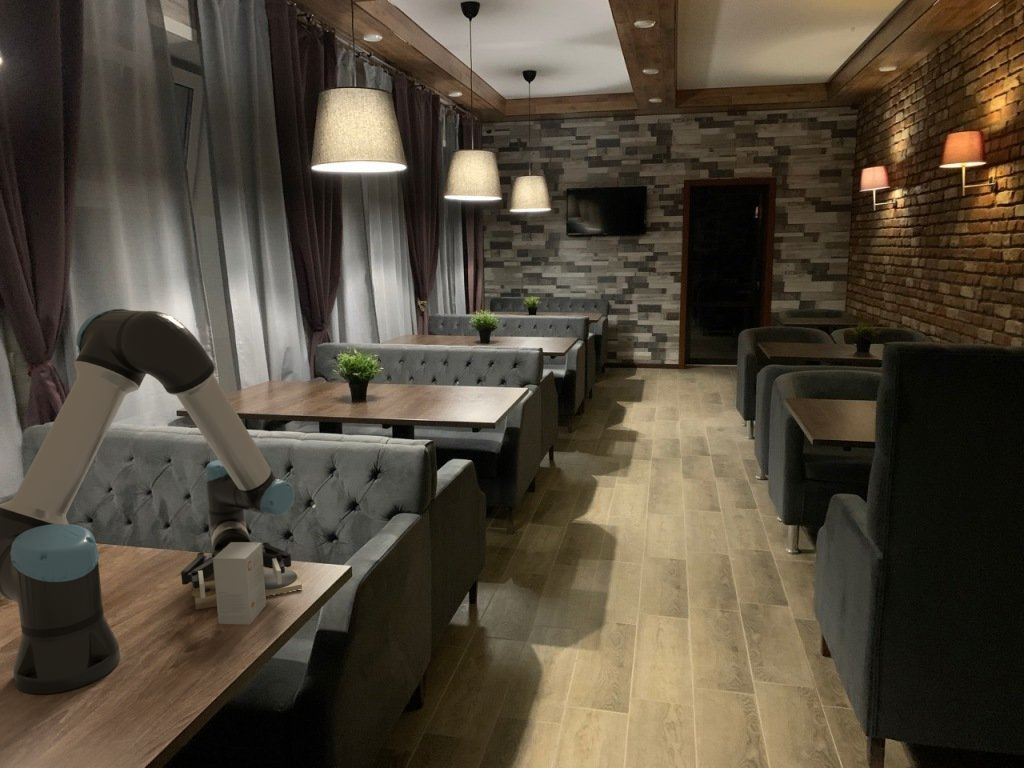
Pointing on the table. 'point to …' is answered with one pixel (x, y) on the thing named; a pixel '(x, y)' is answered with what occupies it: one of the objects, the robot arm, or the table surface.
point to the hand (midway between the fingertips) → (241, 584)
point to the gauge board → (271, 587)
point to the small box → (239, 582)
